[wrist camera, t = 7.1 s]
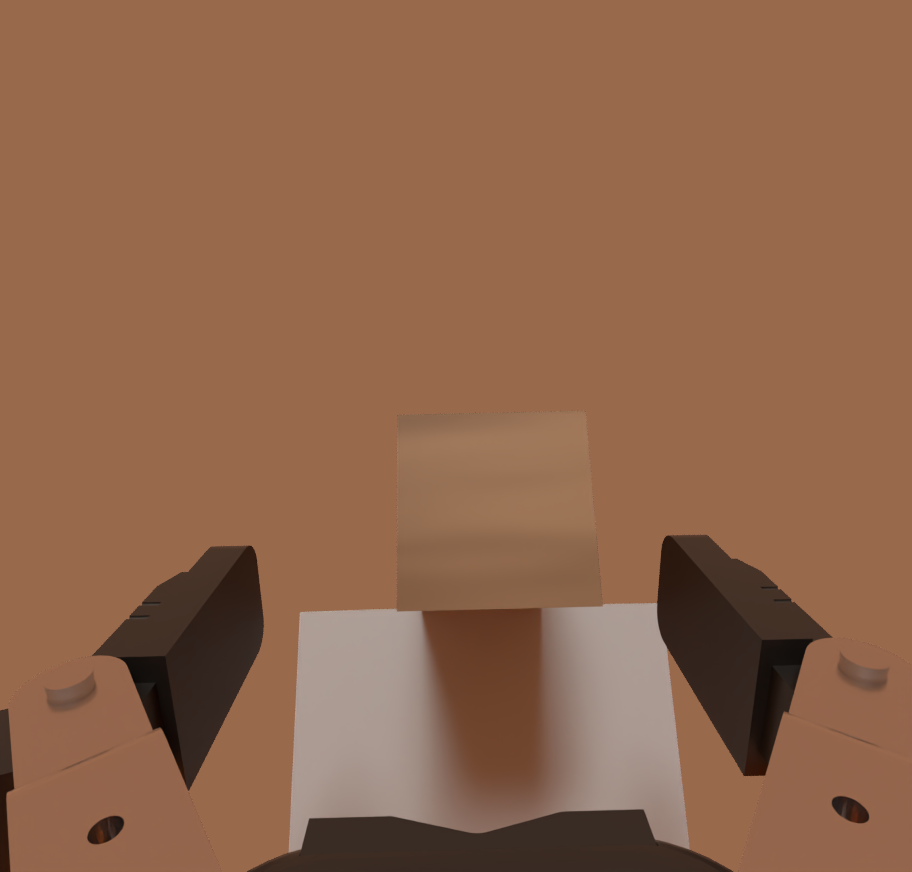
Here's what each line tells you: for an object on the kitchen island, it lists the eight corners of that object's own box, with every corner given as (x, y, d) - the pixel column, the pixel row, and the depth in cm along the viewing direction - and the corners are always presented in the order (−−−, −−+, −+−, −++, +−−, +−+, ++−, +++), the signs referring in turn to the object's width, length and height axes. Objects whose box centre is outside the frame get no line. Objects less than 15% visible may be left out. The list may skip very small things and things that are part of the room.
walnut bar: (435, 607, 35) (434, 538, 36) (504, 606, 35) (501, 537, 36) (396, 611, 11) (397, 414, 13) (602, 606, 12) (585, 410, 13)
